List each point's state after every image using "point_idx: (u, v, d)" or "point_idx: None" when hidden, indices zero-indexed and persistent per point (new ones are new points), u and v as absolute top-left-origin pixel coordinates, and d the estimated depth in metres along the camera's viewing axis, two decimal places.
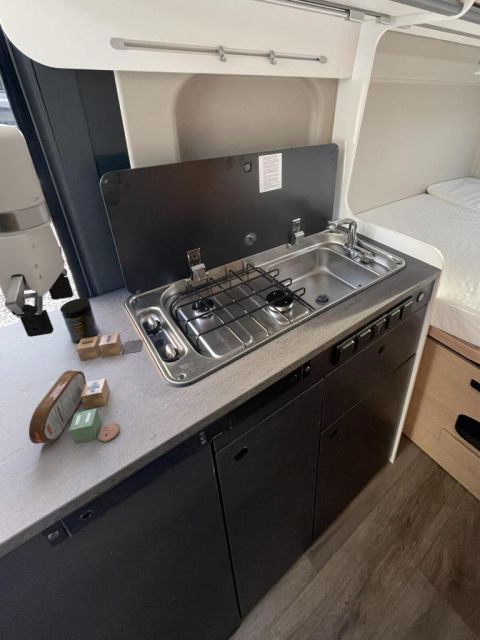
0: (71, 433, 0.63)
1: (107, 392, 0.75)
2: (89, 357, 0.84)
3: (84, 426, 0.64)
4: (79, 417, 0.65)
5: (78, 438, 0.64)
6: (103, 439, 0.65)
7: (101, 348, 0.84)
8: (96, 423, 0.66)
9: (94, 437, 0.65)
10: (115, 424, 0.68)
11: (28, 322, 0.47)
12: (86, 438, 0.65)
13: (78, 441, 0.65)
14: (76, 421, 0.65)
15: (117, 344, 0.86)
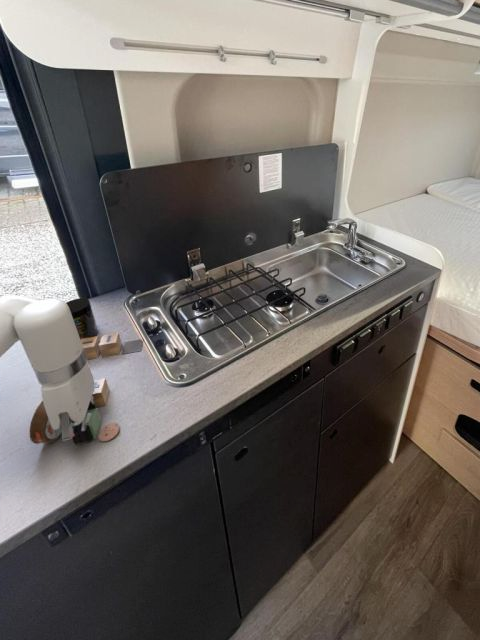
0: None
1: (107, 392, 0.75)
2: (89, 357, 0.84)
3: None
4: None
5: None
6: (103, 439, 0.65)
7: (101, 348, 0.84)
8: (96, 423, 0.66)
9: (94, 437, 0.65)
10: (115, 424, 0.68)
11: (76, 436, 0.62)
12: None
13: None
14: None
15: (117, 344, 0.86)
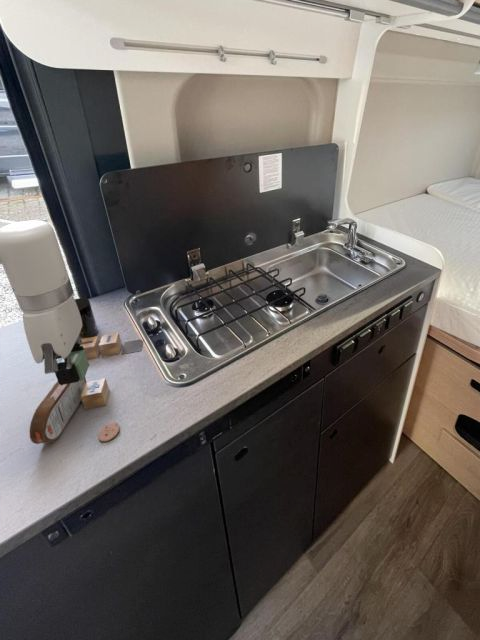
0: None
1: (107, 392, 0.75)
2: (89, 357, 0.84)
3: None
4: None
5: None
6: (103, 439, 0.65)
7: (101, 348, 0.84)
8: (83, 365, 0.63)
9: (81, 379, 0.62)
10: (115, 424, 0.68)
11: (60, 374, 0.59)
12: None
13: None
14: (61, 361, 0.61)
15: (117, 344, 0.86)
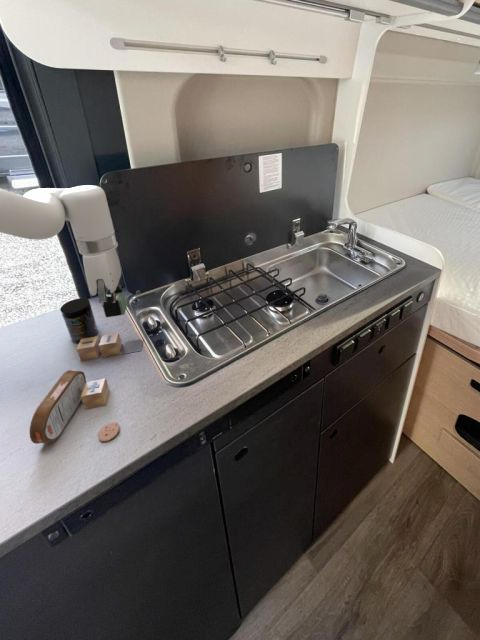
0: None
1: (107, 392, 0.75)
2: (89, 357, 0.84)
3: None
4: None
5: None
6: (103, 439, 0.65)
7: (101, 348, 0.84)
8: (123, 303, 0.79)
9: (122, 313, 0.79)
10: (115, 424, 0.68)
11: (108, 307, 0.76)
12: None
13: None
14: None
15: (117, 344, 0.86)
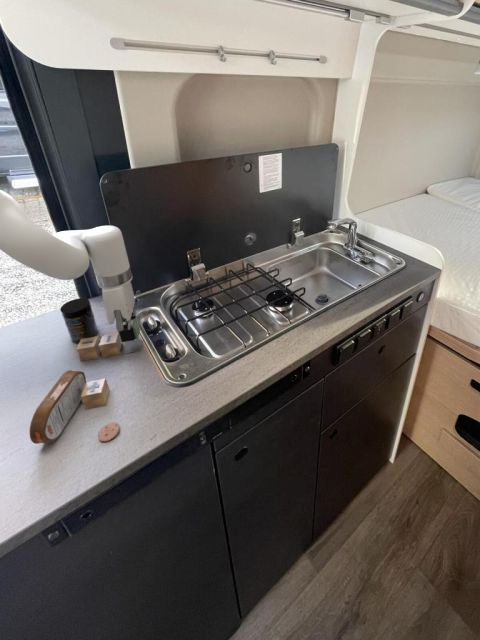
0: None
1: (107, 392, 0.75)
2: (89, 357, 0.84)
3: None
4: (124, 323, 0.86)
5: None
6: (103, 439, 0.65)
7: (101, 348, 0.84)
8: (137, 328, 0.87)
9: (136, 338, 0.86)
10: (115, 424, 0.68)
11: (123, 334, 0.83)
12: None
13: None
14: None
15: (117, 344, 0.86)
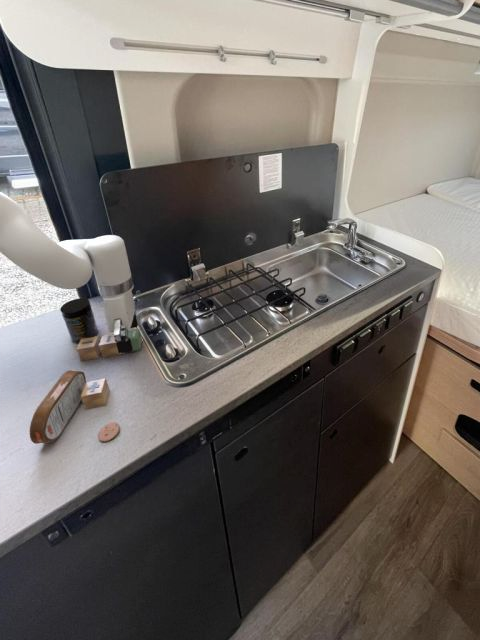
0: None
1: (107, 392, 0.75)
2: (89, 357, 0.84)
3: (131, 338, 0.86)
4: None
5: None
6: (103, 439, 0.65)
7: (101, 348, 0.84)
8: (139, 339, 0.88)
9: (138, 348, 0.87)
10: (115, 424, 0.68)
11: (120, 345, 0.81)
12: (133, 348, 0.87)
13: None
14: None
15: None
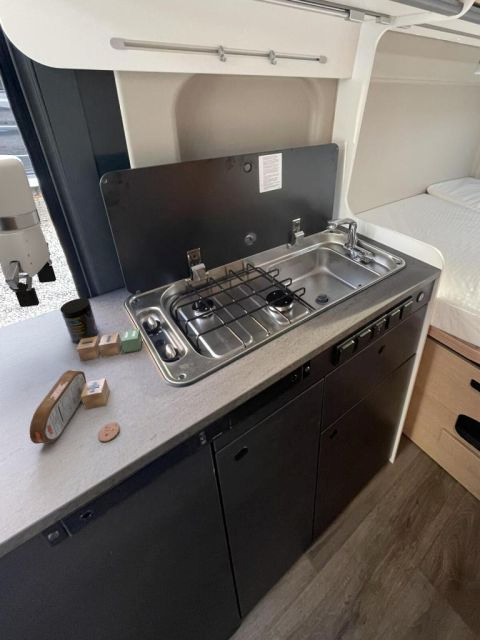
0: (122, 343, 0.85)
1: (107, 392, 0.75)
2: (89, 357, 0.84)
3: (131, 338, 0.86)
4: (127, 333, 0.87)
5: (127, 348, 0.86)
6: (103, 439, 0.65)
7: (101, 348, 0.84)
8: (139, 339, 0.88)
9: (138, 348, 0.87)
10: (115, 424, 0.68)
11: (21, 296, 0.65)
12: (133, 348, 0.87)
13: (127, 350, 0.87)
14: (125, 336, 0.87)
15: (117, 344, 0.86)
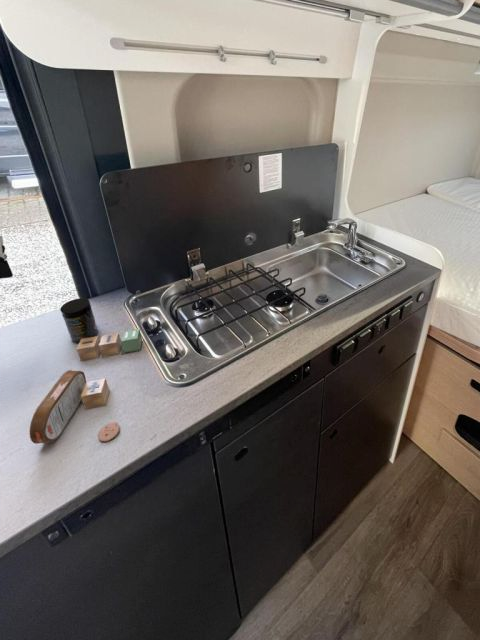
0: (122, 343, 0.85)
1: (107, 392, 0.75)
2: (89, 357, 0.84)
3: (131, 338, 0.86)
4: (127, 333, 0.87)
5: (127, 348, 0.86)
6: (103, 439, 0.65)
7: (101, 348, 0.84)
8: (139, 339, 0.88)
9: (138, 348, 0.87)
10: (115, 424, 0.68)
11: None
12: (133, 348, 0.87)
13: (127, 350, 0.87)
14: (125, 336, 0.87)
15: (117, 344, 0.86)
